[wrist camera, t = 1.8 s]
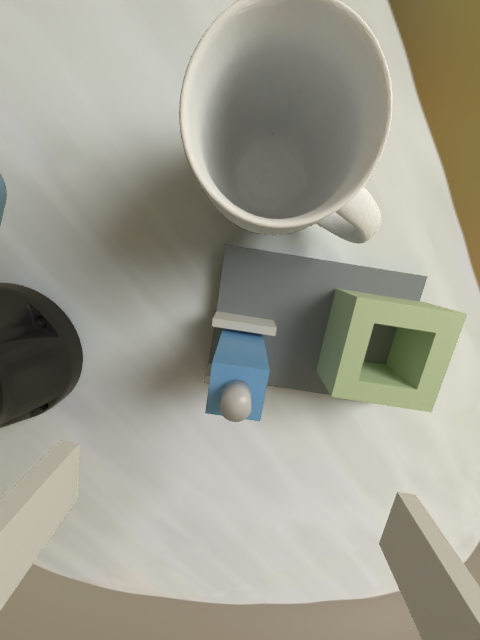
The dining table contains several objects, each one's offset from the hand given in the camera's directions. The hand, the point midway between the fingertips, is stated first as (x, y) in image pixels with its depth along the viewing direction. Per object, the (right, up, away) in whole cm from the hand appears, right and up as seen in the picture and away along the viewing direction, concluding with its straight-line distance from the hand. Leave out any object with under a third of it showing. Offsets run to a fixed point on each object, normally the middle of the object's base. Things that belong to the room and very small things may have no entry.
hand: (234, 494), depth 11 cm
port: (+14, +5, +17) cm, 23 cm away
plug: (0, +4, +18) cm, 18 cm away
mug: (+4, +20, +16) cm, 26 cm away
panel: (+8, +7, +19) cm, 21 cm away
